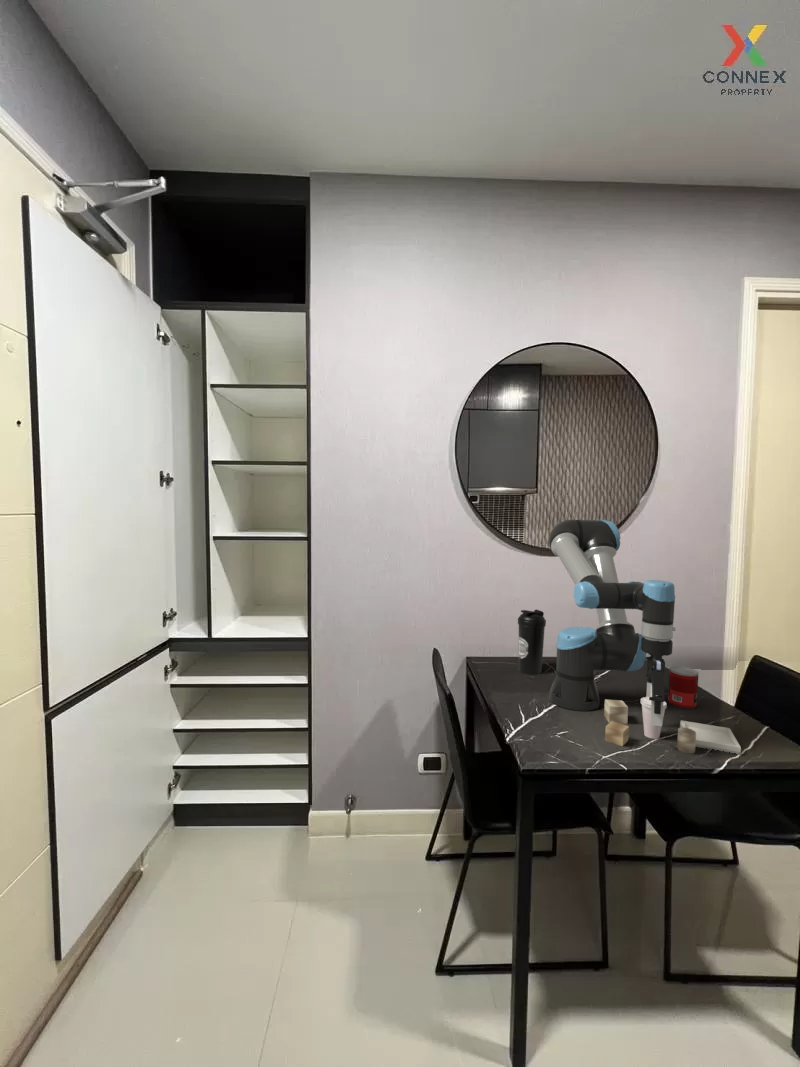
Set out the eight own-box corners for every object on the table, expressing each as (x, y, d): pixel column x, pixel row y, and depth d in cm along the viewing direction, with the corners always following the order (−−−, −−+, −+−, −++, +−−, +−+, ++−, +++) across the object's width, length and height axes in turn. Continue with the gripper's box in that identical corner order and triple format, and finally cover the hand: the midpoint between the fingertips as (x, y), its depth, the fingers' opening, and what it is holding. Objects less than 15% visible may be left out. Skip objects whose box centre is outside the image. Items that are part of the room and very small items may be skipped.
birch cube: (609, 722, 142) (609, 706, 142) (604, 715, 147) (604, 699, 147) (627, 724, 141) (627, 707, 141) (621, 716, 146) (622, 700, 146)
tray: (686, 744, 129) (686, 738, 129) (679, 726, 140) (680, 720, 140) (740, 754, 125) (740, 747, 125) (729, 734, 136) (729, 728, 136)
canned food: (700, 709, 152) (702, 675, 152) (672, 707, 154) (674, 672, 153) (691, 700, 160) (693, 667, 159) (664, 698, 161) (666, 665, 161)
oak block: (604, 740, 131) (605, 726, 131) (611, 735, 134) (611, 721, 134) (622, 746, 128) (623, 731, 128) (628, 740, 131) (628, 726, 131)
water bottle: (511, 667, 189) (513, 608, 188) (534, 665, 192) (536, 607, 191) (525, 676, 179) (527, 614, 178) (549, 674, 182) (551, 612, 181)
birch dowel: (678, 751, 126) (679, 732, 125) (676, 744, 129) (677, 726, 129) (696, 755, 124) (697, 735, 124) (693, 748, 128) (694, 729, 128)
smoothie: (642, 728, 139) (644, 679, 138) (667, 735, 135) (670, 685, 134) (636, 736, 134) (638, 686, 133) (662, 743, 130) (664, 692, 129)
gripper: (679, 651, 120) (675, 736, 121) (667, 629, 143) (664, 701, 144) (645, 647, 123) (641, 731, 123) (638, 626, 146) (635, 697, 146)
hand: (653, 715), depth 134 cm, fingers open, 13 cm apart
